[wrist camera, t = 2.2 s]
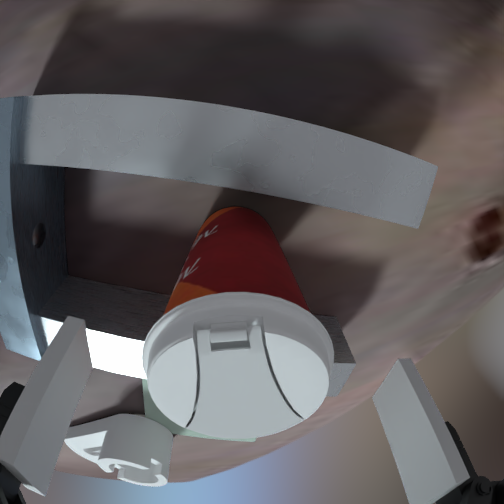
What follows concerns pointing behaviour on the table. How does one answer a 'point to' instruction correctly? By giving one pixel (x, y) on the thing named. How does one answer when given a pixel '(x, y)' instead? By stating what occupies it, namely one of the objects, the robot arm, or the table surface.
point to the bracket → (125, 447)
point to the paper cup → (237, 337)
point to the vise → (173, 167)
